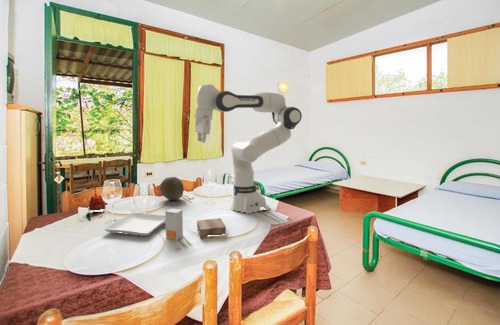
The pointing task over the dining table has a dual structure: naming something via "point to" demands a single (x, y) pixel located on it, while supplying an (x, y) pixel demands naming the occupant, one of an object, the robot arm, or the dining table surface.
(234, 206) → the robot arm
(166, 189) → the dark brown ball
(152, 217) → the salad plate
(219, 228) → the walnut base
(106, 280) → the dining table surface
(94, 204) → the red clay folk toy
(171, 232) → the skincare box
